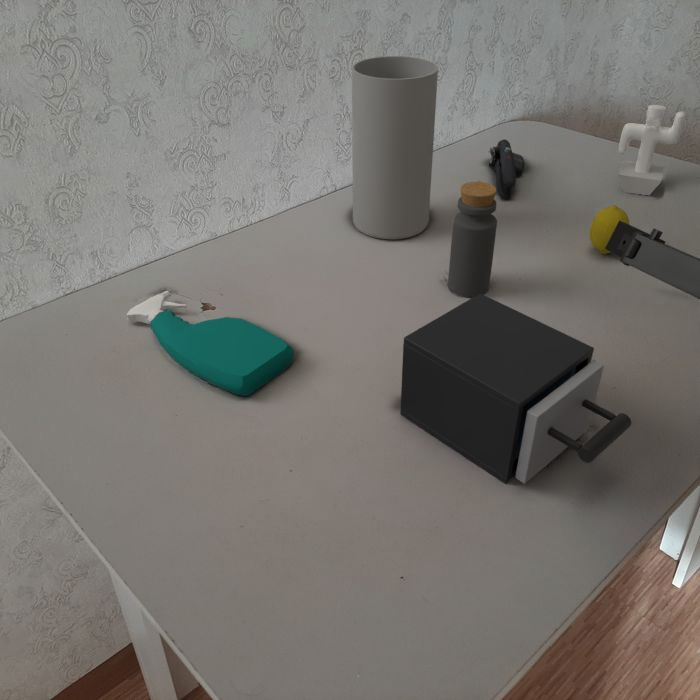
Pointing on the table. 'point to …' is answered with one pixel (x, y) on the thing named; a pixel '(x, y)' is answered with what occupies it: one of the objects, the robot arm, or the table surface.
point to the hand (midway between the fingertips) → (676, 260)
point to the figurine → (647, 150)
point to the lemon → (605, 226)
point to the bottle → (473, 240)
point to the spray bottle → (216, 346)
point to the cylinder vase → (392, 144)
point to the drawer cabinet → (483, 378)
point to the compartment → (565, 422)
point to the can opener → (505, 167)
